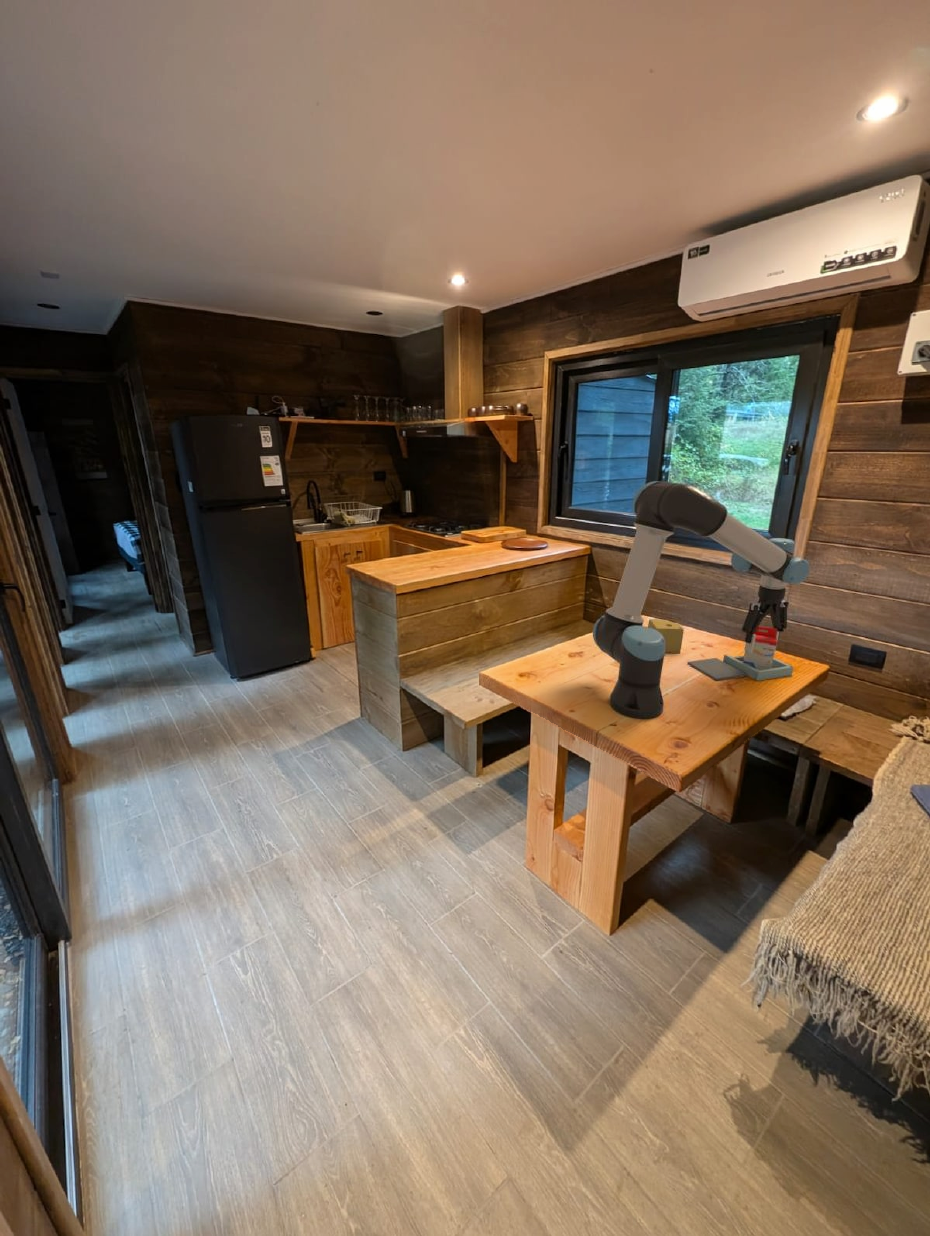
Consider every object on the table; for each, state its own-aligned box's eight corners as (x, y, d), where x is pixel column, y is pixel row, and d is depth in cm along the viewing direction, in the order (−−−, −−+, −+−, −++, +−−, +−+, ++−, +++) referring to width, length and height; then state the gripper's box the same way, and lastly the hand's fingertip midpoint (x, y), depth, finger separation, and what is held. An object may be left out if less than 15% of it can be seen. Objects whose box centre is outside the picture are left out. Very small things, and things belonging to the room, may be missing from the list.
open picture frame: (757, 680, 165) (758, 672, 164) (722, 662, 178) (724, 654, 177) (791, 675, 168) (793, 667, 167) (755, 657, 182) (757, 650, 181)
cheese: (673, 643, 196) (676, 619, 193) (681, 654, 186) (685, 628, 183) (645, 642, 197) (648, 618, 194) (652, 653, 187) (655, 628, 184)
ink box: (742, 668, 173) (749, 629, 168) (742, 663, 177) (749, 624, 173) (770, 673, 170) (779, 633, 165) (769, 668, 174) (778, 628, 169)
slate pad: (716, 680, 165) (716, 678, 164) (687, 663, 177) (687, 661, 177) (746, 676, 168) (746, 674, 168) (715, 659, 181) (716, 657, 180)
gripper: (754, 592, 158) (742, 657, 165) (809, 586, 163) (794, 650, 171) (736, 586, 164) (725, 649, 172) (789, 580, 170) (776, 642, 177)
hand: (759, 649), depth 171 cm, fingers closed on ink box, 9 cm apart
